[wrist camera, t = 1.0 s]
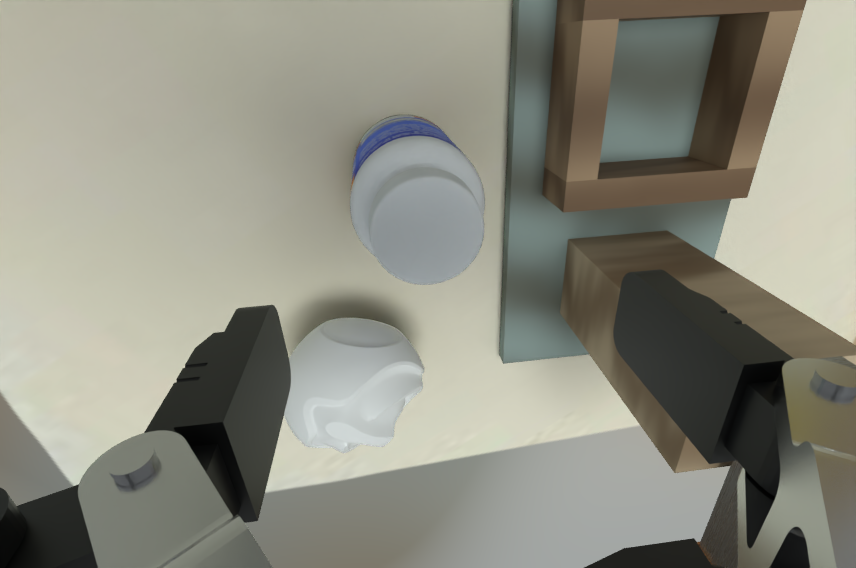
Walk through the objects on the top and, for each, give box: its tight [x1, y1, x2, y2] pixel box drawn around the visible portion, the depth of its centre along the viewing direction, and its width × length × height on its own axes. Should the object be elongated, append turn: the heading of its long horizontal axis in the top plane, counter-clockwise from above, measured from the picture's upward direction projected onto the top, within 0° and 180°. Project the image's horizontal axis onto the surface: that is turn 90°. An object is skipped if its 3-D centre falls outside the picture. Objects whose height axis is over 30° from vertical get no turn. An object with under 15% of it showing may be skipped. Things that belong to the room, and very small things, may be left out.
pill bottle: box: [350, 115, 485, 285], centre depth 19 cm, size 5×5×10 cm
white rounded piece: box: [284, 318, 424, 453], centre depth 25 cm, size 8×8×8 cm
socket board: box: [499, 0, 856, 473], centre depth 20 cm, size 22×13×13 cm, turn 3°
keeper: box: [697, 356, 856, 568], centre depth 16 cm, size 11×3×2 cm, turn 3°
